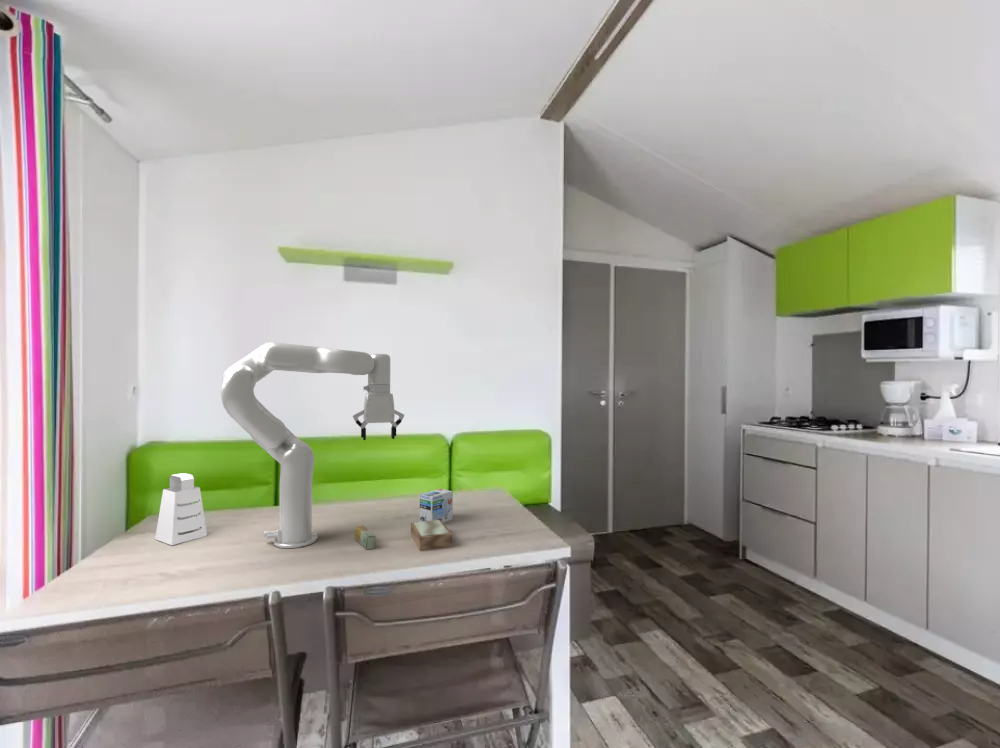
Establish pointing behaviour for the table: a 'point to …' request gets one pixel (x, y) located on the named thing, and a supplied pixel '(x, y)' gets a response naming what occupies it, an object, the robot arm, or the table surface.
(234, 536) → the table surface
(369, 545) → the medication box
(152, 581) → the table surface
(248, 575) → the table surface
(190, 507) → the grater
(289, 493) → the robot arm
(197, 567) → the table surface
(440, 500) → the light bulb box
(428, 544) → the mirror with brown frame
